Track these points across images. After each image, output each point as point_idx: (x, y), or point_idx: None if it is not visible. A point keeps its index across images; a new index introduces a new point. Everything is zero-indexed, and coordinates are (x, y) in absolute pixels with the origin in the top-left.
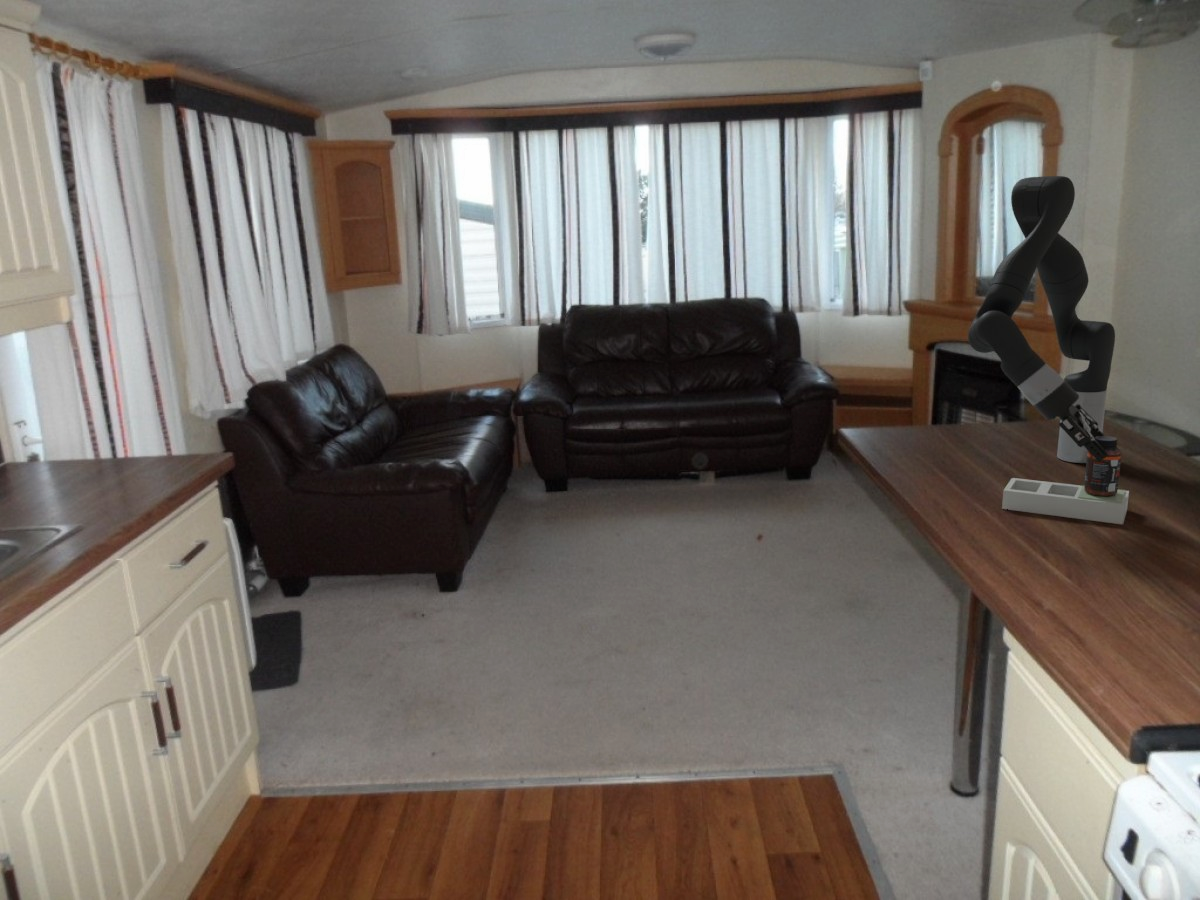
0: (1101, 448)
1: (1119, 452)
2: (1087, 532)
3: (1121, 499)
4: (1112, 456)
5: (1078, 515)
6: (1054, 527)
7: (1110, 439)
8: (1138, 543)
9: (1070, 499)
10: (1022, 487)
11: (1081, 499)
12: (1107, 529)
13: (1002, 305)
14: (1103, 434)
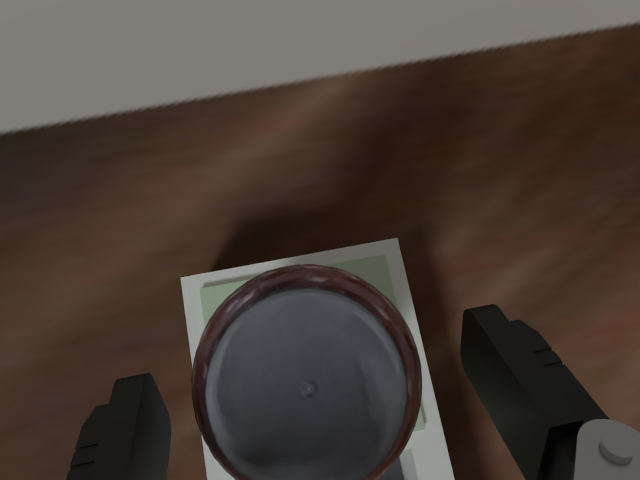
0: (527, 351)
1: (317, 268)
2: (542, 325)
3: (351, 263)
4: (386, 297)
5: None
6: None
7: (350, 332)
8: (537, 169)
9: (446, 453)
10: None
11: (434, 407)
12: (466, 281)
13: None
14: (102, 473)
